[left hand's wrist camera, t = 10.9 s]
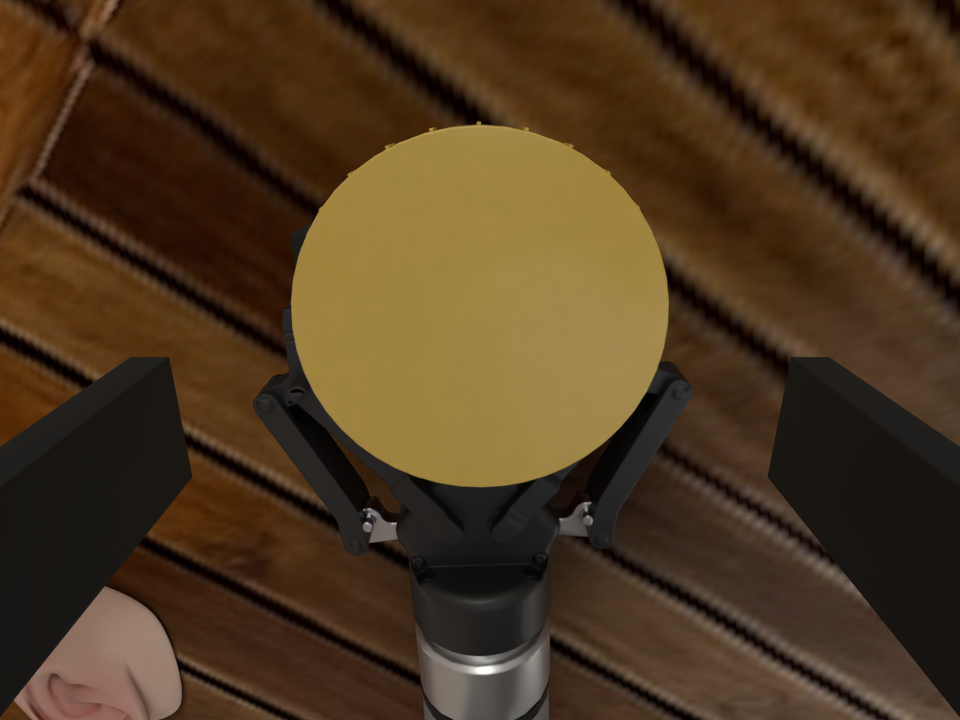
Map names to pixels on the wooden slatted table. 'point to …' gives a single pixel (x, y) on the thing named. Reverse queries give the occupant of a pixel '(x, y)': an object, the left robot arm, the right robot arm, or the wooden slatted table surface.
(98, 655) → the anatomical model
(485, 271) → the lid
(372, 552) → the wooden slatted table surface
